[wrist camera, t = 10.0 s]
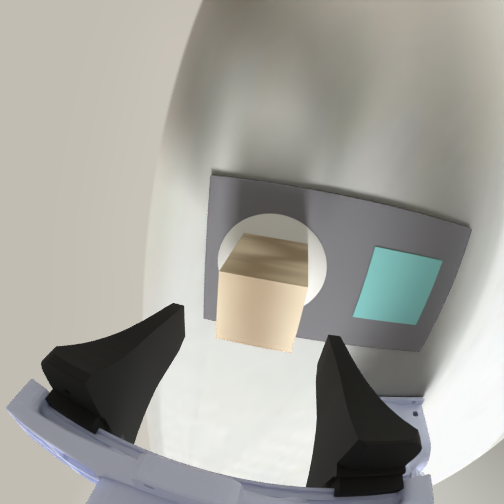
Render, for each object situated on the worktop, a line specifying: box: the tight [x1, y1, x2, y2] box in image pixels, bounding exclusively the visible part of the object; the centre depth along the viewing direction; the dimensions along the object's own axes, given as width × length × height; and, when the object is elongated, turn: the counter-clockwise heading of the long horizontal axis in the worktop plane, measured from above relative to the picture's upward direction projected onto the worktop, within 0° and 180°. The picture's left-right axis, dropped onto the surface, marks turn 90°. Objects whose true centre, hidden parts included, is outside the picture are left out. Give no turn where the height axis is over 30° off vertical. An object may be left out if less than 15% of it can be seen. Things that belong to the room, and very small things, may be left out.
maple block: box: [216, 233, 308, 353], centre depth 17 cm, size 4×4×6 cm
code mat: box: [204, 175, 472, 352], centre depth 20 cm, size 20×12×1 cm, turn 84°
